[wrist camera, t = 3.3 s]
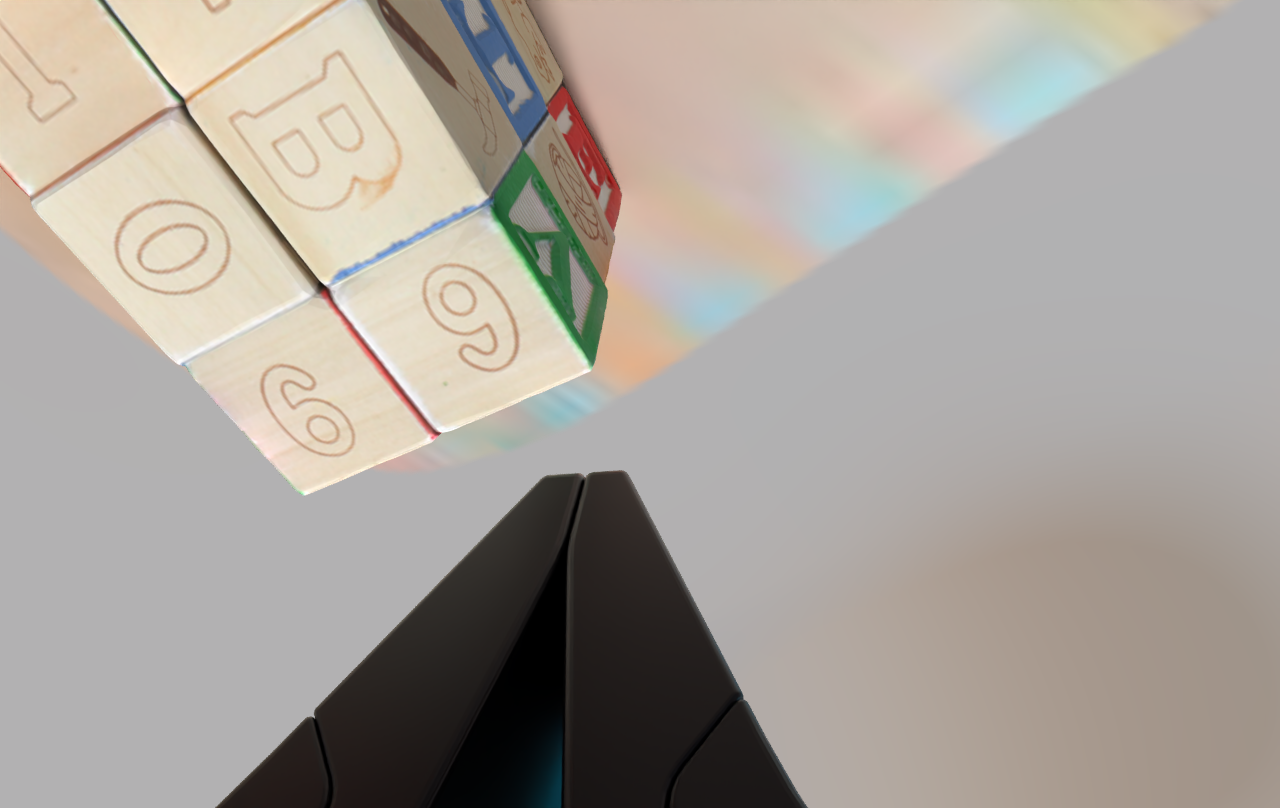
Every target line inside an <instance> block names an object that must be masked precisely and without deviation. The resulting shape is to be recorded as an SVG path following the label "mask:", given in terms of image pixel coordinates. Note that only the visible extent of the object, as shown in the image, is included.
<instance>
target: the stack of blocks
mask: <svg viewBox="0 0 1280 808" xmlns="http://www.w3.org/2000/svg"><path fill="white" fill-rule="evenodd" d="M562 79H563V74H562V72H561V70H560V68H559V66H558V64H557V62H556V60H555V58H554V56H553V54H552V52H551V51H550V49H549V47H548V45H547V43H546V41H545V39H544V37H543V35H542V33H541V31H540V29H539V27H538V25H537V23H536V21H535V19H534V17H533V16H532V14H531V12H530V10H529V8H528V6H527V4H526V2H525V0H0V167H1V168H2V170H3V171H4V172H5V173H6V174H7V175H8V176H9V177H10V178H11V179H12V180H13V182H14V183H15V184H16V185H17V186H18V187H19V188H20V189H22V190H23V191H24V192H25V193H26V194H27V195H28V196H29V197H30V200H31V204H32V207H33V209H34V210H35V211H36V213H37V214H38V215H39V216H40V217H41V218H42V220H43V221H44V222H45V223H46V224H47V225H48V226H49V227H50V228H51V229H52V230H53V231H54V233H55V234H56V235H57V236H58V237H59V238H60V239H61V240H62V241H63V242H64V243H65V245H66V246H67V247H68V248H69V249H70V250H71V251H72V252H73V253H74V254H75V255H76V257H77V258H78V259H79V260H80V261H81V262H82V263H83V264H84V265H85V266H86V267H87V269H88V270H89V271H90V272H91V273H92V274H93V275H94V276H95V277H96V278H97V279H98V281H99V282H100V283H101V284H102V285H103V286H104V287H105V288H106V289H107V290H108V291H109V293H110V294H111V295H112V296H113V297H114V298H115V299H116V300H117V301H118V302H119V303H120V305H121V306H122V307H123V308H124V309H125V310H126V311H127V312H128V313H129V314H130V316H131V317H132V318H133V319H134V320H135V321H136V322H137V323H138V324H139V325H140V326H141V328H142V329H143V330H144V331H145V332H146V333H147V334H148V335H149V336H150V337H151V339H152V340H153V341H154V342H155V343H156V344H157V345H158V346H159V347H160V348H161V349H162V351H163V352H164V353H165V354H166V355H167V356H168V357H169V358H171V359H172V360H173V361H174V362H176V363H177V364H179V365H182V366H186V368H187V369H188V371H189V372H190V374H191V375H192V377H193V378H194V380H195V381H196V382H197V383H198V384H199V385H200V386H201V387H202V388H203V390H205V392H206V393H207V394H208V395H209V396H210V397H211V398H212V399H213V401H214V402H215V403H216V404H217V405H218V406H219V407H220V408H221V410H222V411H223V412H225V414H226V415H227V416H228V417H229V418H230V419H231V420H232V421H233V422H234V423H235V424H236V425H237V426H238V427H239V428H240V429H241V431H242V432H243V433H244V434H245V436H246V437H247V438H248V439H249V440H250V442H251V443H252V444H253V445H254V447H255V448H256V449H257V450H258V451H259V452H260V453H261V454H262V455H264V456H265V457H266V458H267V459H268V460H269V461H270V462H271V463H272V465H273V466H274V467H275V468H276V469H277V470H278V472H279V473H280V474H281V475H282V476H283V477H284V478H285V479H286V481H288V483H289V484H290V485H291V486H292V487H293V489H295V490H296V491H297V492H299V493H300V494H302V495H303V496H305V495H307V494H309V493H312V492H315V491H317V490H319V489H322V488H324V487H326V486H329V485H332V484H334V483H336V482H338V481H341V480H343V479H346V478H348V477H350V476H353V475H355V474H357V473H359V472H361V471H364V470H366V469H369V468H371V467H373V466H375V465H378V464H381V463H383V462H386V461H388V460H391V459H393V458H396V457H398V456H401V455H403V454H405V453H408V452H410V451H413V450H415V449H417V448H420V447H422V446H424V445H427V444H429V443H432V442H433V441H434V440H435V439H436V438H437V437H438V436H439V435H440V434H441V433H443V432H447V431H451V430H454V429H456V428H459V427H461V426H464V425H466V424H469V423H471V422H474V421H476V420H478V419H481V418H483V417H486V416H488V415H490V414H493V413H495V412H497V411H500V410H502V409H504V408H507V407H509V406H512V405H514V404H516V403H518V402H520V401H522V400H524V399H526V398H528V397H531V396H534V395H537V394H539V393H542V392H544V391H546V390H548V389H550V388H552V387H555V386H557V385H560V384H562V383H565V382H567V381H570V380H572V379H574V378H576V377H579V376H581V375H583V374H585V373H587V372H590V371H591V370H592V367H593V365H594V363H595V360H596V354H597V349H598V344H599V339H600V334H601V330H602V324H603V320H604V313H605V309H606V304H607V298H608V290H607V288H606V286H605V280H606V277H607V274H608V269H609V262H610V259H611V255H612V250H613V245H614V243H615V235H614V233H613V232H614V229H615V227H616V222H617V219H618V215H619V210H620V205H621V198H622V193H621V191H620V189H619V187H618V185H617V183H616V181H615V180H614V178H613V176H612V174H611V172H610V171H609V169H608V167H607V165H606V163H605V161H604V159H603V158H602V156H601V154H600V152H599V150H598V148H597V146H596V144H595V142H594V141H593V139H592V137H591V135H590V133H589V131H588V129H587V128H586V126H585V124H584V122H583V120H582V118H581V116H580V114H579V112H578V110H577V109H576V107H575V106H574V103H573V101H572V99H571V97H570V95H569V93H568V91H567V90H566V89H565V88H564V87H563V85H562Z"/></svg>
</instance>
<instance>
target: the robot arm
mask: <svg viewBox="0 0 1280 808" xmlns="http://www.w3.org/2000/svg"><path fill="white" fill-rule="evenodd" d="M314 716H315V718H313V717H307V718H305V720H303V721H302V722H301V723H300V725H299V726H298V727H297V728H296V729H295V730H294V731H293V732H292V733H291V734H290V735H289V736H288V737H287V738H286V739H285V740H284V741H283V742H282V743H281V744H280V745H279V746H278V747H277V748H276V749H275V750H274V751H273V752H272V753H271V754H270V755H269V756H268V757H267V758H266V759H265V760H264V761H263V762H262V763H261V764H260V765H259V766H258V767H257V768H256V769H255V770H253V772H251V773H250V774H249V775H248V776H247V777H246V778H245V780H243V781H242V782H241V783H240V784H239V785H238V786H237V787H236V788H235V789H234V790H233V791H232V792H231V793H230V794H229V795H228V796H227V797H226V798H225V799H224V800H223V801H222V802H221V803H220V804H219V805H218V806H217V807H215V808H808V807H807V806H806V804H805V803H804V801H803V800H802V799H801V797H800V795H799V794H798V792H797V791H796V789H795V787H794V785H793V784H792V782H791V780H790V778H789V777H788V775H787V773H786V771H785V770H784V768H783V767H782V764H781V763H780V761H779V759H778V757H777V756H776V754H775V752H774V750H773V749H772V747H771V745H770V743H769V742H768V740H767V738H766V736H765V734H764V732H763V731H762V729H761V727H760V725H759V723H758V721H757V719H756V717H755V715H754V713H753V712H752V710H751V708H750V706H749V704H748V702H747V701H745V700H744V699H743V694H742V691H741V689H740V688H739V686H738V684H737V682H736V680H735V678H734V676H733V674H732V672H731V670H730V669H729V666H728V665H727V663H726V661H725V659H724V657H723V655H722V653H721V651H720V649H719V647H718V645H717V644H716V642H715V640H714V638H713V636H712V634H711V632H710V630H709V628H708V626H707V624H706V622H705V620H704V618H703V617H702V615H701V613H700V611H699V609H698V607H697V605H696V603H695V602H694V599H693V597H692V596H691V594H690V592H689V590H688V588H687V586H686V584H685V582H684V580H683V578H682V576H681V574H680V572H679V571H678V569H677V567H676V565H675V563H674V561H673V559H672V557H671V555H670V553H669V551H668V549H667V548H666V546H665V544H664V542H663V540H662V538H661V536H660V534H659V532H658V530H657V528H656V526H655V525H654V523H653V521H652V519H651V517H650V515H649V513H648V511H647V509H646V507H645V505H644V503H643V501H642V500H641V498H640V496H639V494H638V492H637V490H636V488H635V486H634V484H633V482H632V480H631V479H630V477H629V475H628V474H627V473H626V472H625V471H622V470H621V471H620V470H619V471H605V472H593V473H589V474H588V475H587V476H586V478H585V477H584V476H583V475H582V474H580V473H575V474H558V475H547V476H545V477H543V478H542V479H541V480H540V481H539V482H538V483H537V484H536V485H535V486H534V487H533V488H532V489H531V490H530V491H529V492H528V493H527V494H526V495H525V496H524V497H523V498H522V499H521V500H520V501H519V502H518V503H517V504H516V505H515V506H514V507H513V508H512V509H511V510H510V511H509V512H508V513H507V514H506V515H505V516H504V517H503V518H502V519H501V520H500V521H499V522H498V523H497V524H496V526H494V527H493V528H492V529H491V530H490V531H489V533H488V534H487V535H486V536H485V537H484V538H483V539H482V540H481V541H480V542H479V543H478V544H477V545H476V546H475V547H474V548H473V549H472V550H471V551H470V552H469V553H468V554H467V555H466V556H465V557H464V558H463V559H462V560H461V561H460V562H459V563H458V564H457V565H456V566H455V567H454V568H453V569H452V570H451V571H450V572H449V573H448V574H447V575H446V576H445V577H444V578H443V579H442V580H441V581H440V582H439V583H438V584H437V586H435V587H434V589H433V590H432V591H431V592H430V593H429V594H428V595H427V596H426V597H425V598H424V599H423V600H422V601H421V602H420V603H419V604H418V605H417V606H416V607H415V608H414V609H413V610H412V611H411V612H410V613H409V614H408V615H407V616H406V617H405V618H404V619H403V620H402V621H401V622H400V623H399V624H398V625H397V626H396V627H395V628H394V629H393V630H392V631H391V632H390V633H389V634H388V635H387V636H386V637H385V638H384V639H383V640H382V641H381V642H380V643H379V645H378V646H377V647H376V648H375V649H374V650H373V651H372V652H371V653H370V654H369V655H368V656H367V657H366V658H365V659H364V660H363V661H362V662H361V663H360V664H359V665H358V666H357V667H356V668H355V669H354V670H353V671H352V672H351V673H350V674H349V675H348V676H347V677H346V678H345V679H344V680H343V681H342V682H341V683H340V684H339V685H338V686H337V687H336V688H335V689H334V690H333V691H332V692H331V694H329V695H328V697H326V698H325V700H324V701H323V702H322V703H321V704H320V705H319V706H318V707H317V708H316V709H315V711H314Z"/></svg>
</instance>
